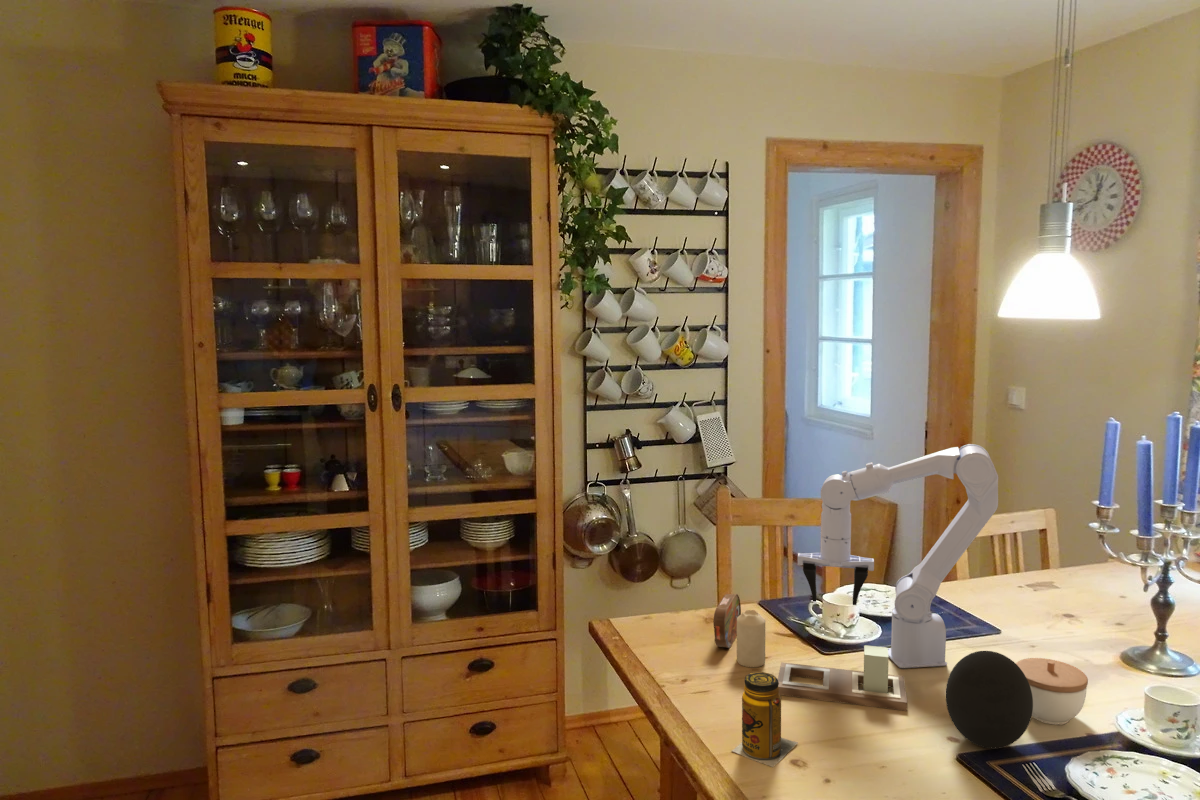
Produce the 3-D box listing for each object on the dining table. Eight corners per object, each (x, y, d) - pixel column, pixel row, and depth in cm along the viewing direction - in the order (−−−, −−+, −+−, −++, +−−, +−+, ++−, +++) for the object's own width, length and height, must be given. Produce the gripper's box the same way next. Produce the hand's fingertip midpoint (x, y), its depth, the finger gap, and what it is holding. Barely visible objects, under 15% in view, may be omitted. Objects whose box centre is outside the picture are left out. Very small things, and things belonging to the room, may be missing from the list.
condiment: (731, 752, 127) (731, 680, 126) (757, 729, 133) (758, 660, 132) (772, 768, 122) (773, 694, 121) (798, 744, 129) (799, 673, 127)
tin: (726, 655, 161) (726, 614, 160) (711, 652, 162) (711, 612, 161) (742, 626, 175) (742, 588, 174) (728, 624, 176) (728, 587, 175)
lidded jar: (1084, 738, 129) (1087, 683, 127) (1009, 721, 134) (1012, 667, 133) (1086, 709, 138) (1089, 657, 136) (1015, 694, 143) (1018, 643, 142)
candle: (765, 668, 155) (765, 619, 154) (736, 666, 156) (736, 617, 155) (765, 656, 160) (765, 608, 159) (737, 654, 161) (737, 606, 160)
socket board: (903, 683, 148) (903, 675, 147) (906, 710, 138) (907, 701, 138) (781, 669, 154) (781, 661, 154) (776, 694, 145) (776, 685, 145)
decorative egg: (949, 716, 136) (952, 631, 134) (1032, 735, 130) (1036, 646, 128) (938, 752, 126) (942, 661, 124) (1028, 774, 119) (1033, 678, 117)
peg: (886, 689, 146) (887, 647, 145) (887, 700, 142) (888, 657, 141) (863, 687, 147) (864, 645, 146) (863, 697, 143) (864, 654, 142)
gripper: (797, 539, 158) (796, 605, 160) (875, 544, 154) (873, 612, 156) (798, 529, 165) (798, 592, 166) (873, 533, 161) (872, 599, 162)
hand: (834, 601), depth 162 cm, fingers open, 7 cm apart
